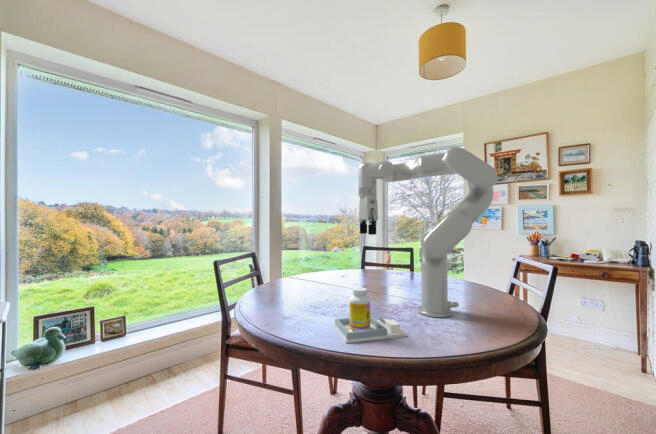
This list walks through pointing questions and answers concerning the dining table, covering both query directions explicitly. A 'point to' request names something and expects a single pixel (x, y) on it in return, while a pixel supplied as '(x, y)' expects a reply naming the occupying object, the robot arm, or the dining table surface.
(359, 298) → the supplement bottle
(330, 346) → the dining table surface
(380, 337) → the charging dock
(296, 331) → the dining table surface
